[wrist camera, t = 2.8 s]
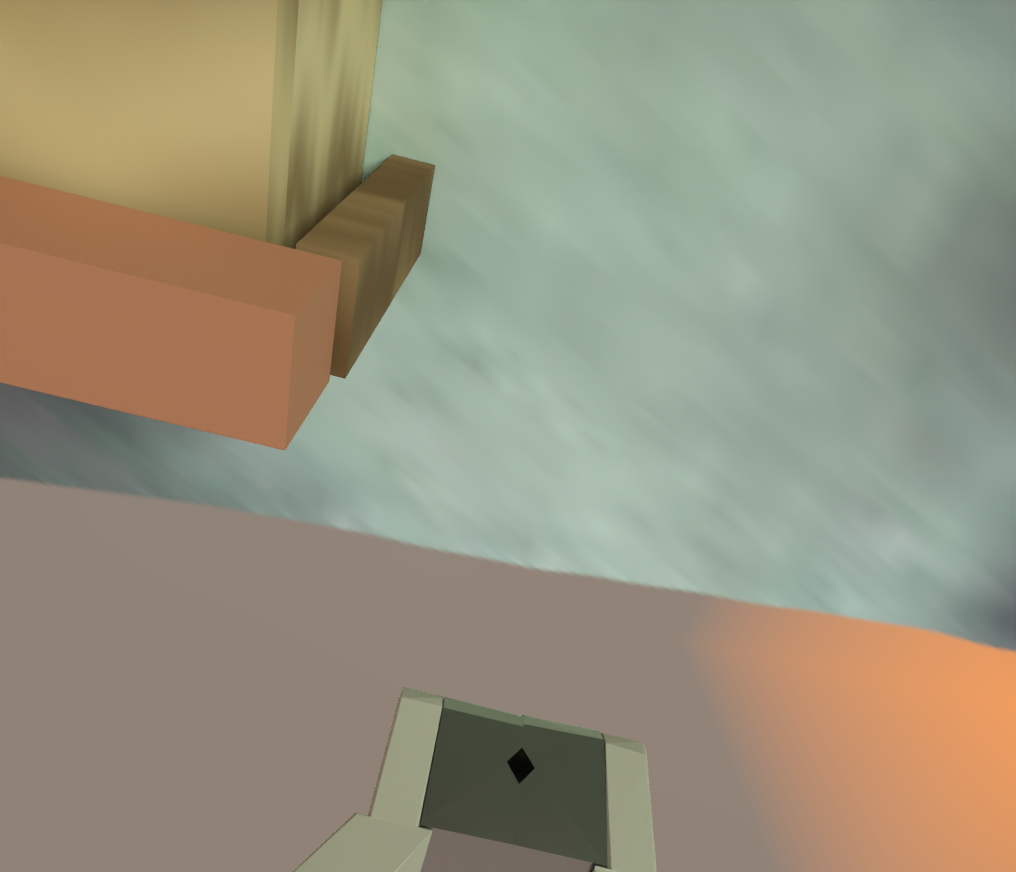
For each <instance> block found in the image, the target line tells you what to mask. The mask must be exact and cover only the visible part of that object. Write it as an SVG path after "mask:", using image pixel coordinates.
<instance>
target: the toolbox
mask: <svg viewBox="0 0 1016 872" xmlns="http://www.w3.org/2000/svg"><path fill="white" fill-rule="evenodd" d="M381 6H382V0H299V7H298V23H297V38H296V54H295V70H294V86H293V102H292V118H291V134H290V150H289V165H288V181H287V197H286V213H285V229H284V245H283V246H284V247H288V248H292V249H297V250H301V251H305V252H309V253H313V254H317V255H321V256H325V257H329V258H333V259H337V260H341V261H342V266H341V276H340V285H339V294H338V303H337V313H336V322H335V331H334V341H333V350H332V359H331V368H330V375H333V376H337V377H341V378H346V376H347V375H348V373H349V371H350V370H351V368H352V366H353V365H354V363H355V361H356V360H357V358H358V356H359V355H360V353H361V351H362V350H363V348H364V346H365V345H366V343H367V341H368V340H369V338H370V337H371V335H372V333H373V332H374V330H375V328H376V327H377V325H378V323H379V322H380V320H381V318H382V317H383V315H384V313H385V312H386V310H387V308H388V307H389V305H390V303H391V302H392V300H393V298H394V297H395V295H396V293H397V292H398V290H399V288H400V287H401V285H402V284H403V282H404V280H405V279H406V277H407V275H408V274H409V272H410V270H411V269H412V267H413V265H414V264H415V262H416V260H417V259H418V257H419V255H420V254H421V248H422V242H423V236H424V230H425V224H426V218H427V211H428V205H429V199H430V193H431V187H432V181H433V175H434V169H435V165H432V164H428V163H424V162H420V161H416V160H412V159H408V158H404V157H400V156H397V155H392V156H390V157H389V158H388V159H387V160H386V161H385V162H384V163H383V164H382V165H381V166H380V167H379V168H378V169H376V170H375V171H374V172H373V173H372V174H371V175H370V176H369V177H368V178H367V179H366V180H365V181H363V182H362V183H361V179H362V171H363V162H364V153H365V145H366V136H367V127H368V119H369V110H370V101H371V93H372V84H373V75H374V67H375V58H376V49H377V41H378V32H379V23H380V15H381Z"/></svg>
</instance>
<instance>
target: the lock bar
mask: <svg viewBox="0 0 1016 872" xmlns="http://www.w3.org/2000/svg"><path fill="white" fill-rule="evenodd" d="M341 266H342V261H341V260H337V259H333V258H329V257H325V256H321V255H317V254H313V253H309V252H305V251H301V250H297V249H292V248H288V247H284V246H280V245H276V244H272V243H268V242H264V241H260V240H256V239H252V238H248V237H244V236H240V235H236V234H232V233H228V232H224V231H220V230H216V229H212V228H208V227H204V226H200V225H196V224H192V223H188V222H184V221H180V220H176V219H172V218H168V217H164V216H160V215H156V214H152V213H148V212H144V211H140V210H136V209H132V208H128V207H124V206H120V205H116V204H112V203H108V202H104V201H100V200H96V199H92V198H88V197H84V196H80V195H76V194H72V193H68V192H64V191H60V190H56V189H52V188H48V187H44V186H40V185H36V184H32V183H28V182H24V181H20V180H16V179H12V178H8V177H4V176H0V382H1V383H5V384H9V385H13V386H17V387H22V388H26V389H30V390H34V391H38V392H42V393H47V394H51V395H55V396H59V397H63V398H68V399H72V400H76V401H80V402H84V403H88V404H93V405H97V406H101V407H105V408H109V409H114V410H118V411H122V412H126V413H130V414H135V415H139V416H143V417H147V418H151V419H155V420H160V421H164V422H168V423H172V424H176V425H181V426H185V427H189V428H193V429H197V430H201V431H206V432H210V433H214V434H218V435H222V436H227V437H231V438H235V439H239V440H243V441H248V442H252V443H256V444H260V445H264V446H268V447H273V448H277V449H281V450H286V448H287V446H288V445H289V443H290V442H291V440H292V439H293V437H294V435H295V434H296V432H297V431H298V429H299V428H300V426H301V425H302V423H303V421H304V420H305V418H306V417H307V415H308V414H309V412H310V410H311V409H312V407H313V406H314V404H315V403H316V401H317V399H318V398H319V396H320V395H321V393H322V392H323V390H324V388H325V387H326V385H327V384H328V382H329V378H330V368H331V359H332V350H333V341H334V331H335V322H336V313H337V303H338V294H339V285H340V276H341Z"/></svg>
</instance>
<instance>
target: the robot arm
mask: <svg viewBox="0 0 1016 872" xmlns="http://www.w3.org/2000/svg"><path fill="white" fill-rule="evenodd" d="M647 765H648V764H647V752H646V749H645V747H644V745H643V743H642V742H640V741H636V740H631V739H626V738H622V737H617V736H613V735H609V734H604V733H600V732H599V731H595V730H591V729H586V728H581V727H576V726H572V725H567V724H562V723H558V722H553V721H548V720H543V719H539V718H533V717H529V716H524V715H522V716H517V715H513V714H509V713H505V712H502V711H498V710H494V709H490V708H486V707H482V706H478V705H474V704H470V703H466V702H463V701H458V700H455V699H451V698H447V697H445V698H444V699H443V697H442V696H438V695H434V694H430V693H426V692H422V691H417V690H413V689H409V688H405V687H404V688H403V690H402V692H401V695H400V697H399V700H398V704H397V708H396V712H395V715H394V719H393V723H392V726H391V730H390V734H389V738H388V742H387V746H386V750H385V753H384V757H383V761H382V764H381V768H380V772H379V776H378V780H377V783H376V787H375V791H374V795H373V798H372V802H371V806H370V810H369V814H368V815H363V814H357V813H355V814H354V815H353V816H352V817H351V818H350V819H348V821H346V822H345V823H344V824H343V825H342V826H341V827H340V828H339V829H338V830H337V831H336V832H335V833H334V834H332V835H331V836H330V837H329V838H328V839H327V840H326V841H325V842H324V843H323V844H322V845H321V846H320V847H319V848H318V849H317V850H315V851H314V852H313V853H312V854H311V855H310V856H309V857H308V858H307V859H306V860H305V861H304V862H303V863H302V864H301V865H299V866H298V867H297V868H296V869H295V870H294V871H293V872H657V871H656V860H655V848H654V837H653V824H652V813H651V800H650V788H649V776H648V766H647Z"/></svg>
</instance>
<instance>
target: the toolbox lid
mask: <svg viewBox="0 0 1016 872" xmlns="http://www.w3.org/2000/svg"><path fill="white" fill-rule="evenodd" d="M298 7H299V0H0V176H4V177H8V178H12V179H16V180H20V181H24V182H28V183H32V184H36V185H40V186H44V187H48V188H52V189H56V190H60V191H64V192H68V193H72V194H76V195H80V196H84V197H88V198H92V199H96V200H100V201H104V202H108V203H112V204H116V205H120V206H124V207H128V208H132V209H136V210H140V211H144V212H148V213H152V214H156V215H160V216H164V217H168V218H172V219H176V220H180V221H184V222H188V223H192V224H196V225H200V226H204V227H208V228H212V229H216V230H220V231H224V232H228V233H232V234H236V235H240V236H244V237H248V238H252V239H256V240H260V241H264V242H268V243H272V244H276V245H280V246H283V245H284V229H285V213H286V197H287V181H288V165H289V150H290V134H291V118H292V102H293V86H294V70H295V54H296V38H297V23H298Z"/></svg>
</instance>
